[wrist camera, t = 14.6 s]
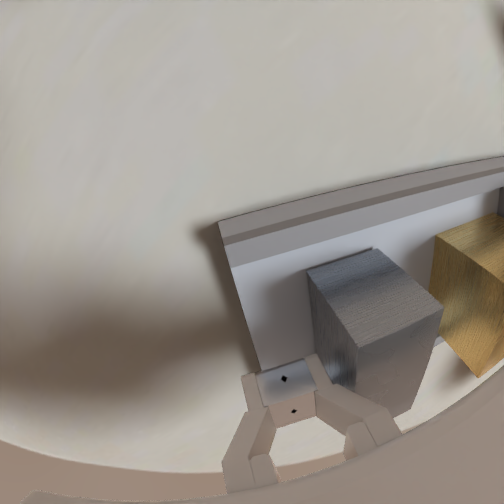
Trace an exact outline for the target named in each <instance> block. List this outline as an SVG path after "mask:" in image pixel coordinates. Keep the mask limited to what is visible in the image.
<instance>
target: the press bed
mask: <svg viewBox="0 0 504 504" xmlns="http://www.w3.org/2000/svg"><path fill="white" fill-rule="evenodd" d="M492 212H494V213H495V214H497V215H499V216H501V217H503V218H504V156H503V157H497V158H491V159H486V160H480V161H474V162H469V163H464V164H458V165H453V166H448V167H443V168H438V169H433V170H428V171H423V172H418V173H413V174H408V175H404V176H399V177H394V178H390V179H385V180H381V181H376V182H372V183H367V184H363V185H359V186H354V187H350V188H346V189H342V190H337V191H333V192H329V193H325V194H321V195H317V196H313V197H309V198H305V199H301V200H297V201H293V202H289V203H285V204H281V205H278V206H274V207H270V208H266V209H262V210H259V211H255V212H251V213H248V214H244V215H240V216H237V217H233V218H229V219H226V220H222V221H219V222H218V225H219V229H220V233H221V237H222V240H223V244H224V248H225V251H226V255H227V258H228V262H229V265H230V268H231V271H232V275H233V278H234V282H235V285H236V288H237V292H238V295H239V299H240V302H241V305H242V309H243V312H244V315H245V319H246V322H247V325H248V328H249V332H250V335H251V338H252V341H253V345H254V348H255V351H256V354H257V357H258V361H259V364H260V367H261V370H266V369H270V368H273V367H277V366H279V365H282V364H285V363H288V362H291V361H294V360H297V359H300V358H304V357H307V356H310V355H312V354H315V343H314V333H313V324H312V315H311V306H310V297H309V289H308V281H307V273H306V271H308V270H311V269H314V268H318V267H321V266H324V265H327V264H330V263H333V262H336V261H340V260H343V259H346V258H349V257H352V256H355V255H358V254H361V253H364V252H367V251H370V250H373V249H376V248H378V249H379V250H380V251H381V252H383V253H384V254H385V255H386V256H387V257H389V258H390V259H391V260H392V261H393V262H395V263H396V264H397V265H398V266H399V267H400V268H402V269H403V270H404V271H405V272H406V273H407V274H408V275H410V276H411V277H412V278H413V279H414V280H415V281H416V282H417V283H419V284H420V285H421V286H422V287H423V288H424V289H425V290H426V291H427V292H428V289H429V283H430V276H431V269H432V262H433V254H434V244H435V235H436V234H438V233H441V232H444V231H446V230H449V229H451V228H454V227H457V226H459V225H462V224H464V223H467V222H470V221H472V220H475V219H477V218H480V217H482V216H485V215H487V214H490V213H492ZM443 341H445V340H444V339H443V338H442V337H441V336H440V335H439V334H438V333H437V337H436V340H435V343H434V347H435V346H437V345H438V344H440V343H442V342H443Z"/></svg>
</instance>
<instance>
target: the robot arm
mask: <svg viewBox="0 0 504 504" xmlns="http://www.w3.org/2000/svg"><path fill="white" fill-rule="evenodd" d="M241 381H242V385H243V390H244V394H245V398H246V402H247V407H248V412H245V413H244V416H243V418H242V420H241V422H240V424H239V427H238V429H237V431H236V433H235V435H234V437H233V439H232V441H231V444H230V446H229V448H228V450H227V452H226V454H225V456H224V458H223V460H222V467H223V473H224V479H225V484H226V489H227V494H223V495H217V496H209V497H201V498H192V499H180V500H164V501H119V500H102V499H91V498H82V497H74V496H67V495H61V494H55V493H50V492H45V491H40V490H33V491H31V492H30V493H29V494H28V495H27V496H26V497H25V498H24V499H23V500H22V501H21V502H20V503H19V504H504V365H503V366H502V367H501V368H500V369H499V370H498V371H496V372H495V373H494V374H493V375H492V376H490V377H489V378H488V379H487V380H485V381H484V382H483V383H482V384H480V385H479V386H478V387H476V388H475V389H474V390H472V391H471V392H470V393H468V394H467V395H466V396H464V397H463V398H461V399H460V400H459V401H457V402H456V403H454V404H453V405H451V406H450V407H448V408H447V409H445V410H444V411H442V412H440V413H439V414H437V415H436V416H434V417H433V418H431V419H429V420H428V421H426V422H424V423H423V424H421V425H419V426H417V427H416V428H414V429H412V430H410V431H408V432H407V433H405V434H403V435H402V433H401V431H400V430H399V428H398V426H397V424H396V423H395V421H394V419H393V418H392V416H391V414H390V413H389V411H388V409H387V408H385V407H383V406H381V405H379V404H377V403H375V402H373V401H371V400H368V399H366V398H364V397H362V396H360V395H358V394H356V393H354V392H352V391H350V390H348V389H346V388H344V387H343V386H341V385H339V384H334V385H333V384H332V382H331V380H330V378H329V376H328V374H327V372H326V370H325V368H324V366H323V364H322V362H321V360H320V358H319V356H318V355H317V354H316V353H315V354H312V355H310V356H307V357H304V358H300V359H297V360H294V361H291V362H288V363H285V364H282V365H279V366H277V367H273V368H270V369H266V370H262V371H258V372H254V373H251V374H247V375H243V376H241ZM314 416H317V417H318V418H319V419H321V420H322V421H324V422H325V423H327V424H328V425H330V426H331V427H333V428H334V429H335V430H337V431H338V432H340V433H342V434H343V435H345V436H346V439H345V445H344V451H343V454H344V457H345V459H346V461H344V462H342V463H339V464H337V465H334V466H331V467H329V468H326V469H323V470H320V471H317V472H314V473H311V474H308V475H305V476H301V477H298V478H295V479H291V480H288V481H284V482H281V478H280V475H279V473H278V471H277V469H276V467H275V465H274V463H273V461H272V459H271V457H270V456H269V455H268V454H269V451H270V448H271V445H272V442H273V439H274V436H275V433H276V429H277V428H280V427H283V426H286V425H289V424H292V423H295V422H298V421H302V420H305V419H308V418H311V417H314Z"/></svg>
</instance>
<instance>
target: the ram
mask: <svg viewBox="0 0 504 504" xmlns="http://www.w3.org/2000/svg"><path fill="white" fill-rule="evenodd" d="M306 273H307V281H308V289H309V297H310V306H311V315H312V324H313V333H314V343H315V353H316V354H317V355H318V356H319V358H320V360H321V362H322V364H323V366H324V368H325V370H326V372H327V374H328V376H329V378H330V380H331V382H332V384H333V385H334V384H339V385H341V386H343V387H344V388H346V389H348V390H350V391H352V392H354V393H356V394H358V395H360V396H362V397H364V398H366V399H368V400H371V401H373V402H375V403H377V404H379V405H381V406H383V407H385V408H387V409H388V411H389V413H390V414H391V416H392V418H394V417H396V416H398V415H400V414H402V413H404V412H406V411H408V410H409V409H411V407H412V404H413V402H414V399H415V397H416V395H417V392H418V389H419V387H420V384H421V382H422V379H423V376H424V374H425V371H426V368H427V365H428V362H429V359H430V356H431V353H432V350H433V347H434V343H435V340H436V337H437V333H438V330H439V326H440V322H441V319H442V315H443V311H444V306H442V305H441V304H440V303H439V302H438V301H437V300H436V299H435V298H434V297H433V296H432V295H431V294H430V293H429V292H427V291H426V290H425V289H424V288H423V287H422V286H421V285H420V284H419V283H417V282H416V281H415V280H414V279H413V278H412V277H411V276H410V275H408V274H407V273H406V272H405V271H404V270H403V269H402V268H400V267H399V266H398V265H397V264H396V263H395V262H393V261H392V260H391V259H390V258H389V257H387V256H386V255H385V254H384V253H383V252H381V251H380V250H379V249H378V248H376V249H373V250H370V251H367V252H364V253H361V254H358V255H355V256H352V257H349V258H346V259H343V260H340V261H336V262H333V263H330V264H327V265H324V266H321V267H318V268H314V269H311V270H308V271H306Z"/></svg>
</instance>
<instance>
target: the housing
mask: <svg viewBox="0 0 504 504" xmlns="http://www.w3.org/2000/svg"><path fill="white" fill-rule="evenodd" d="M428 292H429V293H430V294H431V295H432V296H433V297H434V298H435V299H436V300H437V301H438V302H439V303H440V304H441V305H442V306H444V311H443V315H442V319H441V322H440V326H439V330H438V334H439V335H440V336H441V337H442V338H443V339H444V340H445V341H446V342H447V343H448V345H449V346H450V347H451V348H452V349H453V350H454V351H455V352H456V353H457V355H458V356H459V357H460V358H461V359H462V360H463V361H464V363H465V364H466V365H467V366H468V367H469V368H470V370H471V371H472V372H473V373H474V374H475V375H476V377H477V378H480V377H481V376H482V375H483V374H485V373H486V372H487V371H488V370H490V369H491V368H492V367H493V366H495V365H496V364H497V363H498V362H499V361H500V360H502V359H503V358H504V218H503V217H501V216H499V215H497V214H495V213H494V212H492V213H490V214H487V215H485V216H482V217H480V218H477V219H475V220H472V221H470V222H467V223H464V224H462V225H459V226H457V227H454V228H451V229H449V230H446V231H444V232H441V233H438V234H436V235H435V244H434V254H433V262H432V269H431V276H430V283H429V289H428Z"/></svg>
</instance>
